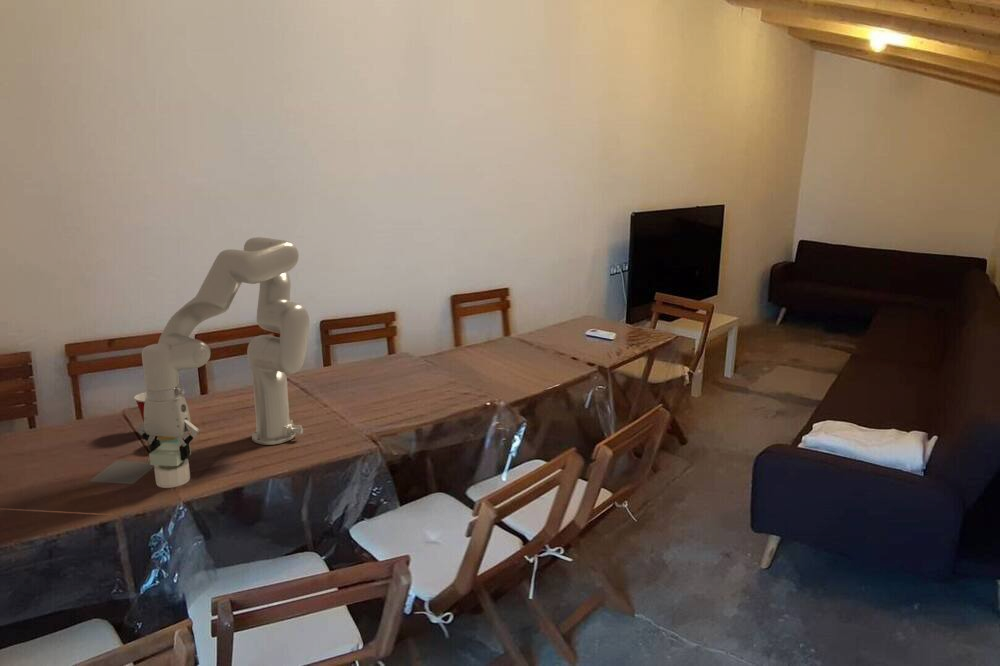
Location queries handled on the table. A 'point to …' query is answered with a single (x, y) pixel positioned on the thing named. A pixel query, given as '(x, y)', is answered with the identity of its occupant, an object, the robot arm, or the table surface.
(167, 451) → the block
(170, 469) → the bowl
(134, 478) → the mat
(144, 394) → the plastic cup
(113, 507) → the table surface
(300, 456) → the table surface
